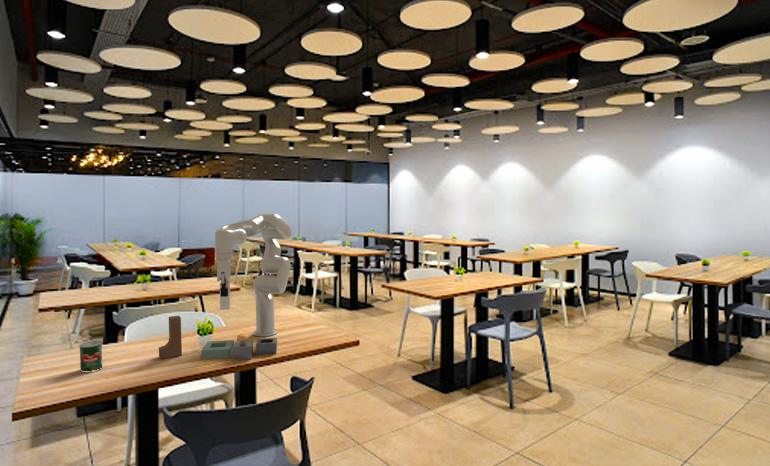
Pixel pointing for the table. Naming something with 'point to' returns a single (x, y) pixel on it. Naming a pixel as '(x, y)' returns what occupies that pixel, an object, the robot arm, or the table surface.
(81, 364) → the canned tomato
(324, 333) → the table surface
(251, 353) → the release housing
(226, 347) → the green recessed block
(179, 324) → the wooden block
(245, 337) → the release button
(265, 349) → the socket block
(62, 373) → the table surface
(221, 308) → the steel peg
